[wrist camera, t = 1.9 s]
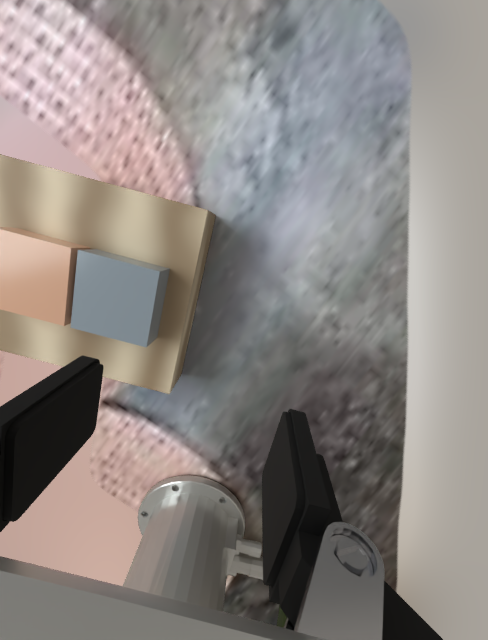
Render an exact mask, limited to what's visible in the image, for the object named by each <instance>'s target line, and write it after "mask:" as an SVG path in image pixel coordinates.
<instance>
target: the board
mask: <svg viewBox="0 0 488 640" xmlns="http://www.w3.org/2000/svg"><path fill="white" fill-rule="evenodd" d="M215 217H216V215H215V214H213V213H212V212H210V211H208V210H205V209H202V208H198V207H194V206H190V205H187V204H183V203H179V202H176V201H172V200H168V199H164V198H161V197H157V196H153V195H149V194H146V193H142V192H138V191H135V190H131V189H127V188H123V187H120V186H116V185H112V184H109V183H105V182H101V181H97V180H94V179H90V178H86V177H83V176H79V175H75V174H71V173H68V172H64V171H60V170H57V169H53V168H49V167H45V166H42V165H37V164H34V163H30V162H27V161H23V160H19V159H16V158H12V157H8V156H5V155H1V154H0V227H11V228H19V229H23V230H27V231H30V232H34V233H38V234H42V235H45V236H49V237H53V238H57V239H60V240H64V241H68V242H72V243H75V244H79V245H83V246H87V247H90V249H98V250H102V251H106V252H109V253H113V254H117V255H121V256H124V257H128V258H132V259H136V260H139V261H143V262H147V263H151V264H155V265H158V266H162V267H166V268H170V271H169V277H168V282H167V288H166V293H165V298H164V304H163V309H162V315H161V320H160V325H159V331H158V336H157V338H156V339H155V340H154V341H153V342H152V343H151V344H150V345H149V346H148V347H142V346H139V345H135V344H131V343H127V342H123V341H119V340H116V339H112V338H108V337H104V336H100V335H97V334H93V333H89V332H85V331H81V330H77V329H74V328H70V327H71V323H70V324H68V325H65V326H62V325H58V324H54V323H51V322H47V321H43V320H39V319H35V318H31V317H28V316H24V315H20V314H16V313H12V312H8V311H5V310H1V309H0V350H1V351H5V352H9V353H13V354H17V355H21V356H25V357H28V358H32V359H36V360H40V361H44V362H47V363H51V364H55V365H59V366H63V367H64V366H66V365H67V364H69V363H70V362H72V361H74V360H75V359H77V358H78V357H80V356H82V355H83V356H88V357H92V358H95V359H99V361H100V364H102V365H103V376H102V377H105V378H109V379H113V380H117V381H121V382H125V383H129V384H132V385H136V386H140V387H144V388H148V389H152V390H156V391H159V392H163V393H167V394H170V392H171V391H172V389H173V387H174V386H175V384H176V382H177V381H178V379H179V377H180V376H181V374H182V369H183V364H184V360H185V355H186V351H187V346H188V341H189V337H190V332H191V328H192V323H193V318H194V314H195V309H196V305H197V300H198V295H199V291H200V286H201V282H202V277H203V272H204V268H205V263H206V258H207V254H208V249H209V245H210V240H211V235H212V231H213V226H214V222H215Z"/></svg>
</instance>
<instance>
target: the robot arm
mask: <svg viewBox="0 0 488 640" xmlns="http://www.w3.org/2000/svg"><path fill="white" fill-rule="evenodd" d="M102 376H103V365H102V364H100V361H99V359H95V358H92V357H88V356H83V355H82V356H80V357H78V358H77V359H75V360H74V361H72V362H70V363H69V364H67V365H66V366H64V367H63V368H61V369H60V370H58V371H56V372H55V373H53V374H51V375H50V376H49V377H47V378H45V379H43V380H42V381H40V382H39V383H37V384H36V385H34V386H32V387H31V388H29V389H28V390H26V391H24V392H23V393H21V394H20V395H18V396H16V397H15V398H13V399H12V400H10V401H9V402H7V403H5V404H4V405H3V406H1V407H0V532H1V531H2V530H3V529H4V528H5V526H6V525H7V524H8V523H9V522H10V521H13V522H14V521H16V520H18V519H19V518H20V517H21V516H22V514H23V513H24V512H25V511H26V510H27V509H28V508H29V506H30V505H31V504H32V503H33V502H34V501H35V500H36V498H37V497H38V496H39V495H40V494H41V493H42V491H43V490H44V489H45V488H46V487H47V486H48V485H49V484H50V482H51V481H52V480H53V479H54V478H55V477H56V476H57V474H58V473H59V472H60V471H61V470H62V469H63V468H64V467H65V465H66V464H67V463H68V462H69V461H70V460H71V459H72V457H73V456H74V455H75V454H76V453H77V452H78V450H79V449H80V448H81V447H82V446H83V445H84V444H85V442H86V441H87V440H88V439H89V438H90V437H91V435H92V434H93V432H94V430H95V427H96V421H97V414H98V406H99V399H100V391H101V384H102ZM138 524H139V528H140V531H141V534H142V535H143V537H142V539H141V542H140V545H139V547H138V549H137V552H136V555H135V557H134V559H133V562H132V565H131V567H130V570H129V572H128V575H127V577H126V579H125V582H124V584H123V586H119V585H115V584H111V583H107V582H102V581H98V580H94V579H90V578H86V577H82V576H78V575H74V574H70V573H66V572H62V571H58V570H54V569H50V568H45V567H42V566H38V565H34V564H30V563H25V562H21V561H17V560H13V559H9V558H5V557H0V640H443V639H442V638H441V637H440V636H439V635H438V634H437V633H436V632H435V631H434V630H433V629H432V628H431V627H430V626H429V625H428V624H427V623H426V622H425V621H424V620H423V619H422V618H421V617H420V616H419V615H418V614H417V613H416V612H415V611H414V610H413V609H412V608H411V607H410V606H409V605H408V604H407V603H406V602H405V601H404V600H403V599H402V598H401V597H400V596H399V595H398V594H397V593H396V592H395V591H394V590H393V589H392V588H391V587H390V586H389V585H388V584H387V583H386V582H385V581H384V565H383V560H382V558H381V555H380V553H379V551H378V550H377V548H376V547H375V545H374V544H373V542H372V541H371V540H370V539H369V538H368V537H367V536H366V535H365V534H364V533H363V532H361V531H360V530H359V529H358V528H356V527H354V526H352V525H350V524H348V523H343V521H342V518H341V515H340V511H339V508H338V504H337V501H336V498H335V494H334V491H333V488H332V484H331V481H330V477H329V474H328V471H327V467H326V464H325V461H324V458H323V456H322V455H320V454H316V451H315V447H314V443H313V440H312V436H311V432H310V428H309V425H308V421H307V417H306V414H305V413H304V412H300V411H296V410H292V409H290V410H289V411H288V412H283V414H282V416H281V419H280V422H279V425H278V428H277V431H276V434H275V437H274V440H273V443H272V446H271V449H270V452H269V455H268V458H267V461H266V464H265V467H264V470H263V475H262V525H263V557H260V556H261V551H262V543H261V542H257V541H253V540H246V539H243V537H244V530H245V516H244V512H243V509H242V507H241V504H240V502H239V501H238V500H237V498H236V497H235V496H234V495H233V494H232V493H231V492H230V491H229V490H228V489H227V488H225V487H224V486H222V485H221V484H219V483H217V482H215V481H213V480H210V479H207V478H203V477H199V476H191V475H184V476H175V477H171V478H167V479H165V480H163V481H161V482H159V483H157V484H156V485H155V486H153V487H152V488H151V489H150V490H149V491H148V492H147V494H146V495H145V497H144V499H143V501H142V503H141V506H140V508H139V513H138ZM237 573H241V574H245V575H248V576H249V577H253V578H257V579H261V580H263V583H264V584H265V585H269V601H270V602H273V603H277V604H280V608H281V609H282V611H283V612H284V614H285V615H286V617H287V619H286V622H285V625H284V628H282V627H278V626H275V625H271V624H268V623H264V622H260V621H257V620H253V619H249V618H245V617H241V616H237V615H233V614H229V613H225V612H223V606H224V596H225V586H226V579H227V576H228V575H232V576H236V574H237Z"/></svg>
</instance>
